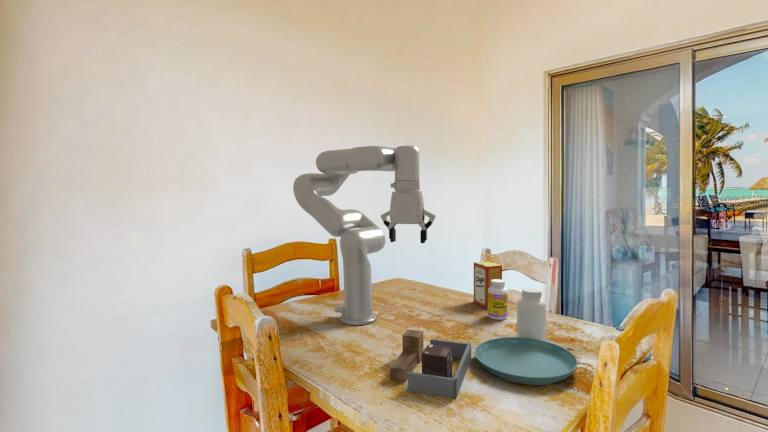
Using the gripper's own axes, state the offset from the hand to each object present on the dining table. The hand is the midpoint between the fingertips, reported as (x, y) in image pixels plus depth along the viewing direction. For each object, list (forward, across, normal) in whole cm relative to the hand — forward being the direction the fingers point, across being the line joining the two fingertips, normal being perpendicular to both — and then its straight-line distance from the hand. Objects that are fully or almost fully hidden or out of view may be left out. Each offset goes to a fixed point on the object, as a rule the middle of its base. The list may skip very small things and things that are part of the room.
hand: (407, 242), depth 124 cm
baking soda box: (+28, +20, +38) cm, 52 cm away
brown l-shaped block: (+28, +7, -24) cm, 38 cm away
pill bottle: (+28, +36, +4) cm, 46 cm away
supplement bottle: (+28, +25, +23) cm, 44 cm away
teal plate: (+29, +34, -14) cm, 47 cm away
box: (+29, +16, -28) cm, 43 cm away
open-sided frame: (+28, +16, -24) cm, 41 cm away
